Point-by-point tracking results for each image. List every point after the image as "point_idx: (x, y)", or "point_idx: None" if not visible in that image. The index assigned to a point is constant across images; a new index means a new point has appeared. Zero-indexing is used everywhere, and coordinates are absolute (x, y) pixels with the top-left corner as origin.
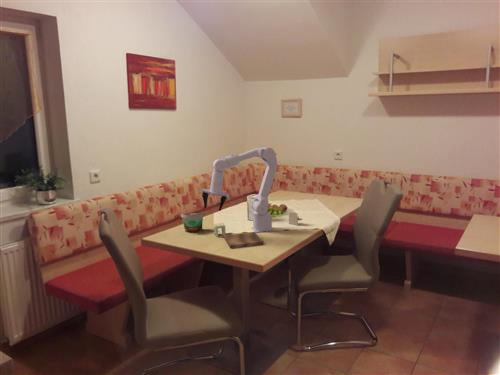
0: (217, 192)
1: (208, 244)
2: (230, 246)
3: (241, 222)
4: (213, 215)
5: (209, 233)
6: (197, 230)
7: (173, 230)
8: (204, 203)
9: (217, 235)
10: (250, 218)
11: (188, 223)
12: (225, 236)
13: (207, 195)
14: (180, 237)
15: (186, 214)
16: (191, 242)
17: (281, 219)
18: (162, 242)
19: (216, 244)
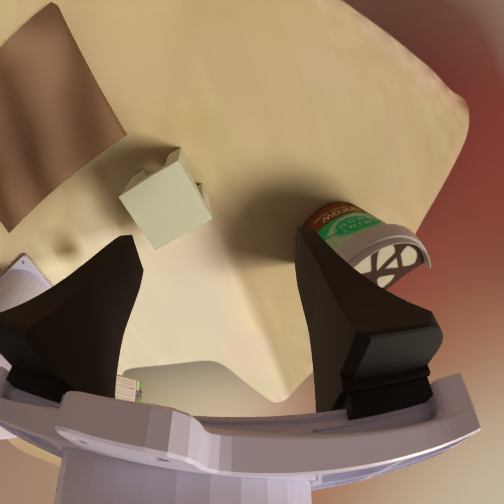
0: (72, 453)
1: (186, 21)
2: (52, 3)
3: (151, 360)
4: (288, 392)
5: (240, 201)
6: (313, 218)
7: (410, 224)
8: (330, 251)
9: (172, 153)
10: (127, 384)
11: (374, 219)
12: (106, 120)
13: (330, 385)
14: (371, 126)
15: (406, 271)
16: (296, 46)
17: None
18: (420, 65)
19: (139, 29)
